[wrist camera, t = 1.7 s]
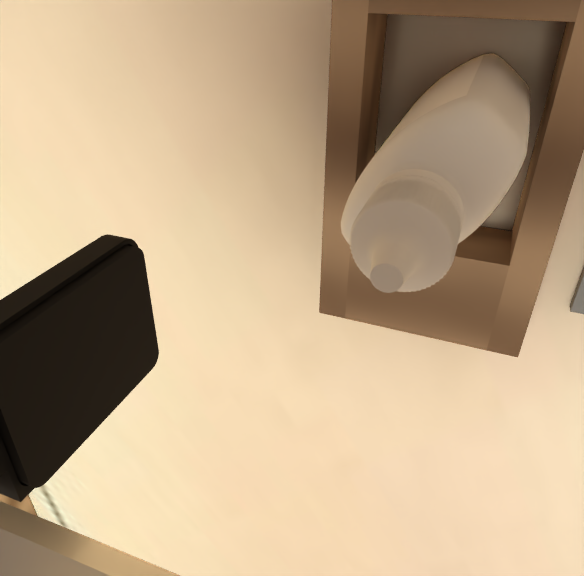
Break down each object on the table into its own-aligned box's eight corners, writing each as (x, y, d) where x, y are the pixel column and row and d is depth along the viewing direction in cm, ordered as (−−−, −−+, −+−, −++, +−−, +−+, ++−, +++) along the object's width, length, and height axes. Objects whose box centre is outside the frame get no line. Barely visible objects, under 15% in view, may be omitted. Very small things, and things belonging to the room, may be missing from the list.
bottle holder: (364, -136, 17) (338, -149, 15) (658, -149, 14) (683, -167, 12) (338, 279, 26) (319, 312, 23) (519, 316, 23) (517, 357, 21)
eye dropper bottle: (368, 93, 21) (233, 212, 11) (520, 39, 18) (509, 137, 9) (400, 194, 22) (306, 371, 13) (543, 158, 20) (555, 350, 10)
